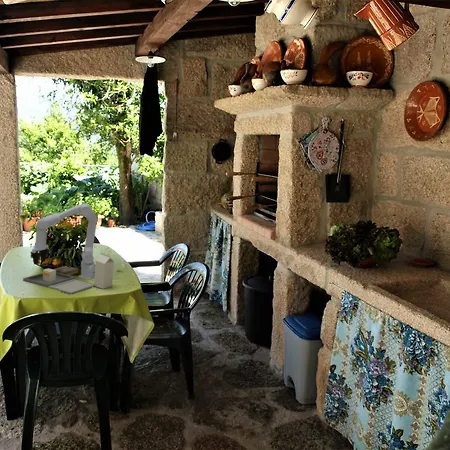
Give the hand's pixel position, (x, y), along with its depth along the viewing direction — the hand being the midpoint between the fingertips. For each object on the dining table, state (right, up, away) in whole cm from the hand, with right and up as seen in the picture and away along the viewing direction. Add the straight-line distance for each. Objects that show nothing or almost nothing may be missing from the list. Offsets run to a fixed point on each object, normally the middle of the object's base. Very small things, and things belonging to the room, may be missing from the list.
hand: (39, 262), depth 291 cm
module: (+6, -10, 0) cm, 12 cm away
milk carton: (+38, -13, -6) cm, 41 cm away
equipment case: (+14, -12, -4) cm, 18 cm away
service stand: (+10, -8, +16) cm, 20 cm away
